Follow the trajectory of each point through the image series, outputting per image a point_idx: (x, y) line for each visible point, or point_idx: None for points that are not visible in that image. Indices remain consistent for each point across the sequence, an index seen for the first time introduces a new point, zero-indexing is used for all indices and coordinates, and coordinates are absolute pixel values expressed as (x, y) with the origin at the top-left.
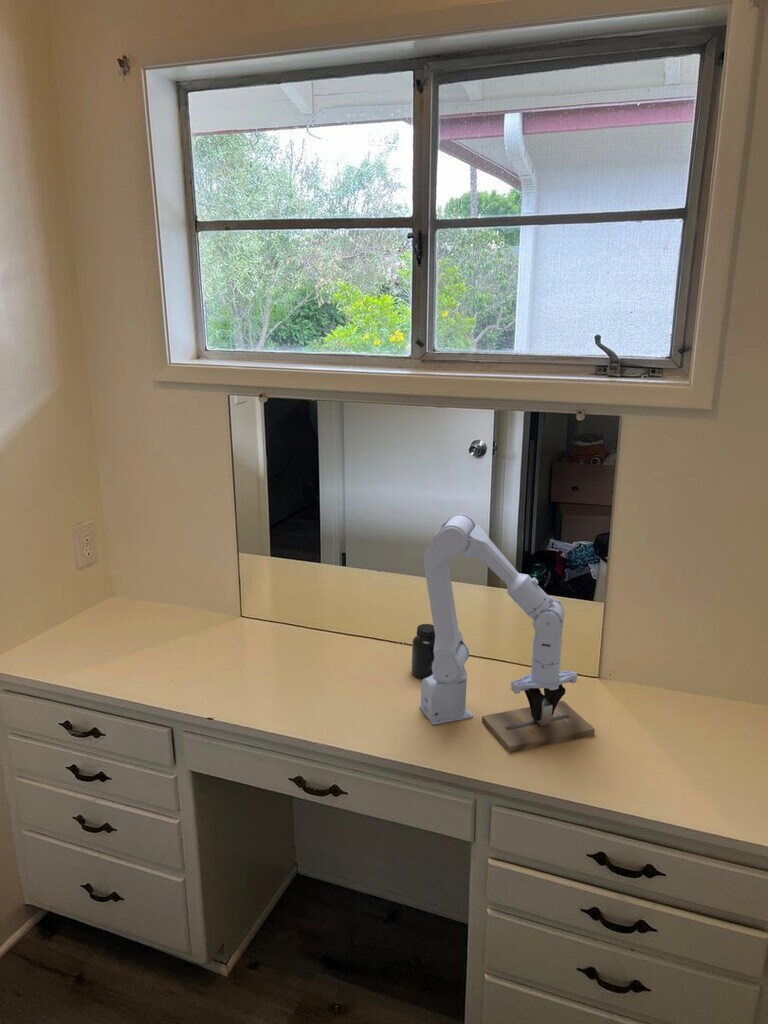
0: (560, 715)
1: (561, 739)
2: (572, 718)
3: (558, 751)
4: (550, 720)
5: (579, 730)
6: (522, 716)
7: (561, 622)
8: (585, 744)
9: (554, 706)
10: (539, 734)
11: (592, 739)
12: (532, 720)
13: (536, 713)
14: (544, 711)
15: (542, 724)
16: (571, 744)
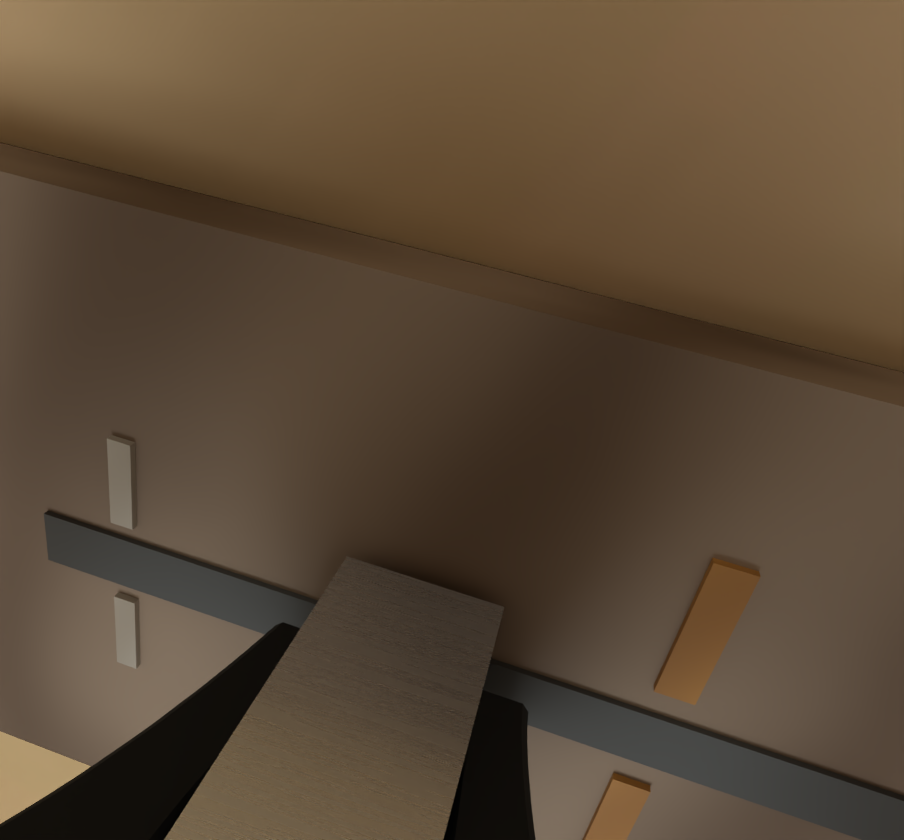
0: (125, 594)
1: (419, 263)
2: (27, 477)
3: (647, 91)
4: (338, 596)
5: (76, 230)
6: None
7: None
8: (163, 17)
9: (139, 776)
10: (676, 499)
11: (17, 67)
12: None
13: (531, 838)
14: (395, 798)
15: (480, 611)
16: (340, 132)
